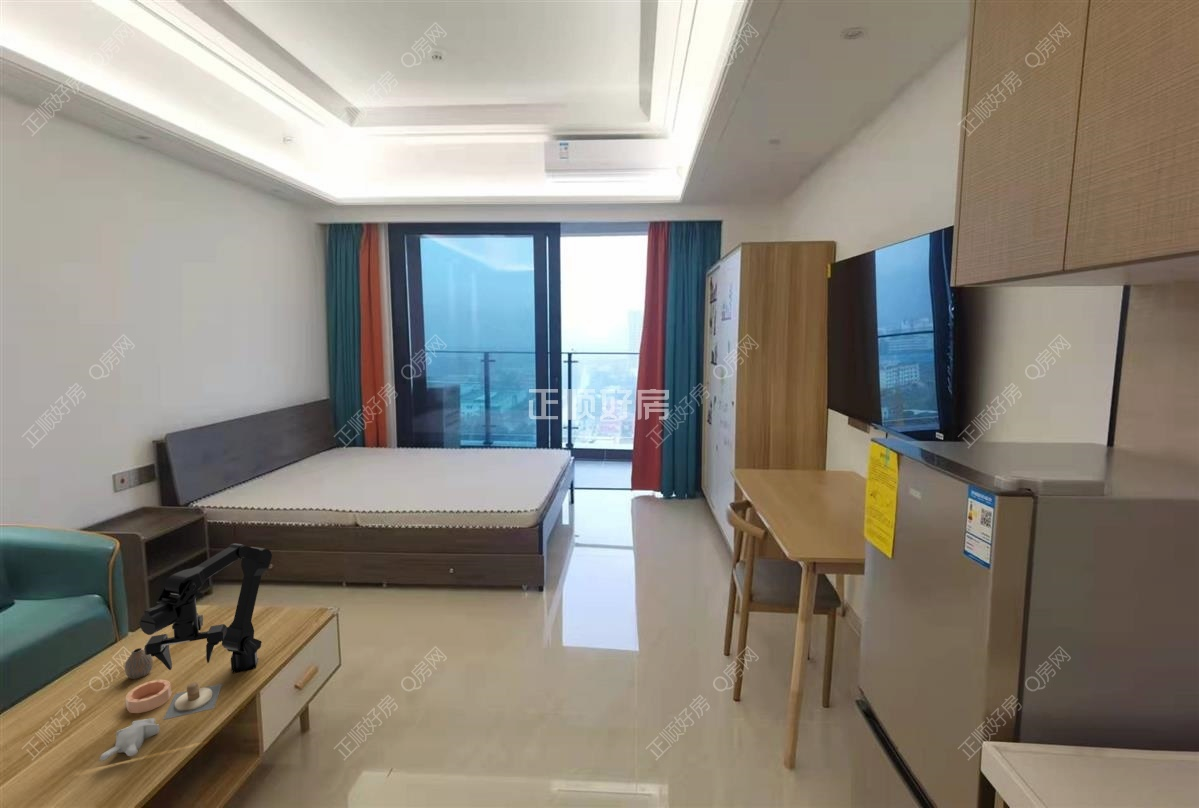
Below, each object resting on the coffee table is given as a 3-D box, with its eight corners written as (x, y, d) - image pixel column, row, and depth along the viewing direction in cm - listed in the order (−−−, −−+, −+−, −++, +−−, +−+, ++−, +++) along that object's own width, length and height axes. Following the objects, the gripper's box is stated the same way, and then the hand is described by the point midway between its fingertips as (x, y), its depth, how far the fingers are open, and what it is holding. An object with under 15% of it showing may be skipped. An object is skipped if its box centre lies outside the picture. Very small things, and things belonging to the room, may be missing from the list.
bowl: (175, 688, 170) (174, 676, 169) (165, 709, 161) (163, 696, 160) (134, 696, 165) (133, 684, 165) (122, 718, 156) (120, 705, 156)
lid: (215, 687, 169) (214, 672, 168) (208, 706, 161) (207, 690, 160) (179, 695, 165) (178, 680, 165) (171, 714, 157) (169, 699, 157)
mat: (222, 685, 171) (222, 683, 171) (213, 710, 160) (213, 708, 160) (175, 695, 166) (175, 693, 166) (163, 721, 156) (162, 719, 155)
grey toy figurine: (166, 710, 154) (138, 743, 140) (167, 728, 155) (138, 762, 140) (126, 716, 152) (93, 750, 137) (126, 734, 152) (94, 770, 138)
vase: (137, 683, 171) (134, 658, 170) (120, 680, 173) (117, 655, 172) (159, 670, 178) (156, 645, 177) (142, 667, 180) (139, 642, 178)
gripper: (228, 597, 171) (232, 644, 173) (154, 609, 163) (159, 657, 165) (220, 615, 160) (225, 664, 163) (141, 628, 153) (146, 679, 155)
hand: (189, 665), depth 162 cm, fingers open, 9 cm apart
